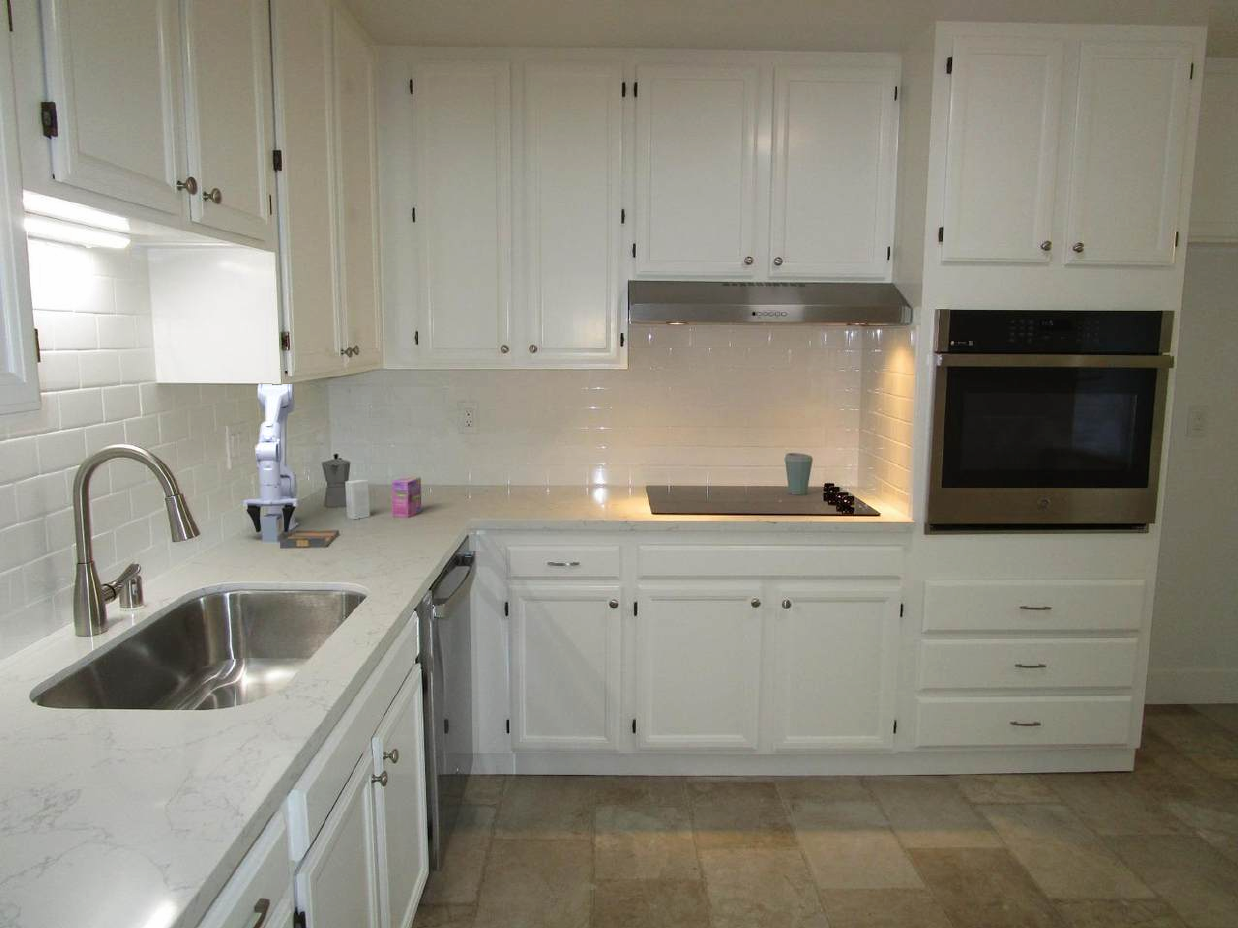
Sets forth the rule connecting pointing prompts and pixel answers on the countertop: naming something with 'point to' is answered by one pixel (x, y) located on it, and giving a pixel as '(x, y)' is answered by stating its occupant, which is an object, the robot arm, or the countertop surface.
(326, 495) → the coffeepot
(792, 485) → the disposable coffee cup
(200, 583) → the countertop surface
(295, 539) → the price rail
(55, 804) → the countertop surface
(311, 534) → the shelf board
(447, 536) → the countertop surface
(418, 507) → the box
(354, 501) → the skincare box
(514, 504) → the countertop surface
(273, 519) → the carton
